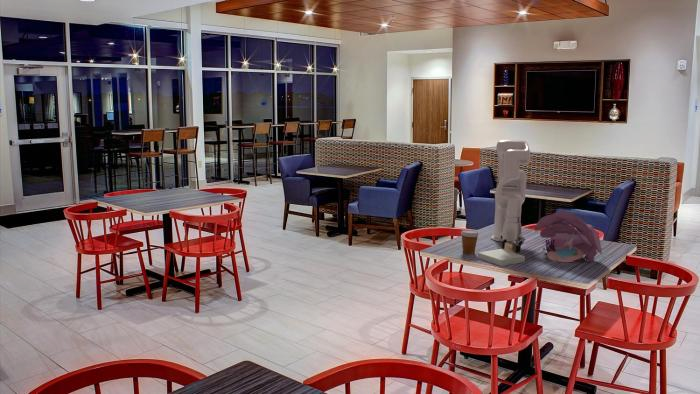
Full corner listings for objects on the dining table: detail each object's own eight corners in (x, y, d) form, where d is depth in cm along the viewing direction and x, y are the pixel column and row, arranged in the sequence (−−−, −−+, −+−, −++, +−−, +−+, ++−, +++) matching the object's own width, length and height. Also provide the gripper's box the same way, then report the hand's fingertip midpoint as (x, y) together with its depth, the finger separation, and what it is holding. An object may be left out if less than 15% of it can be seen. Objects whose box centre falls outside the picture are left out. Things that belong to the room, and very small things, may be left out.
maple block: (510, 252, 344) (511, 241, 343) (517, 254, 340) (518, 243, 339) (504, 253, 342) (504, 242, 341) (511, 255, 338) (511, 244, 337)
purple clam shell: (531, 266, 335) (527, 217, 327) (541, 248, 355) (537, 202, 346) (600, 270, 318) (598, 218, 309) (607, 252, 337) (604, 202, 329)
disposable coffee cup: (464, 255, 334) (465, 233, 332) (456, 250, 343) (458, 229, 341) (480, 254, 337) (481, 233, 335) (472, 250, 346) (473, 229, 344)
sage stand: (500, 254, 339) (500, 248, 338) (524, 261, 325) (524, 256, 324) (477, 258, 330) (477, 252, 329) (501, 266, 316) (501, 260, 315)
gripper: (496, 217, 343) (494, 247, 346) (520, 223, 329) (518, 254, 331) (506, 216, 347) (504, 246, 350) (530, 221, 333) (528, 253, 335)
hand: (511, 250), depth 340 cm, fingers open, 9 cm apart
